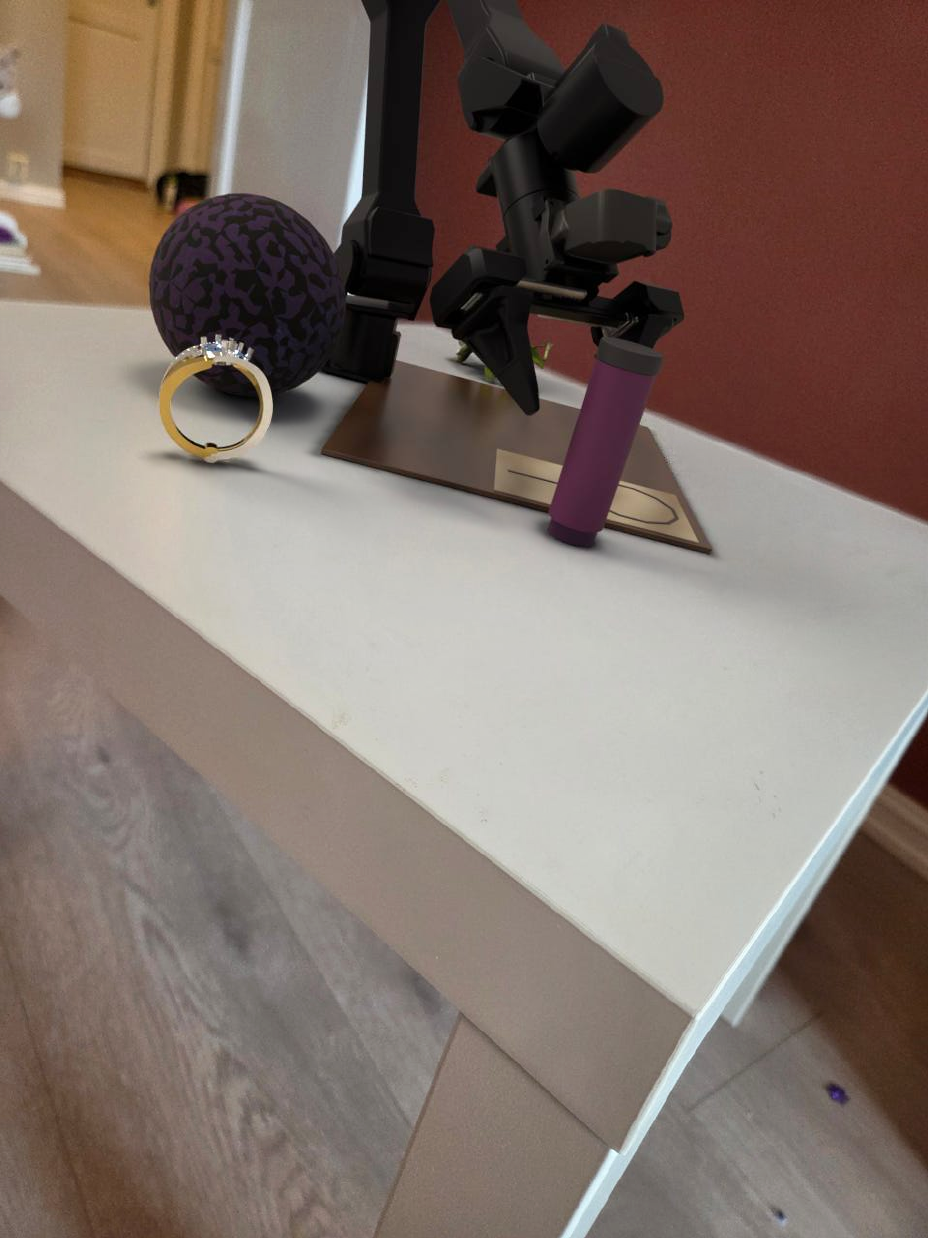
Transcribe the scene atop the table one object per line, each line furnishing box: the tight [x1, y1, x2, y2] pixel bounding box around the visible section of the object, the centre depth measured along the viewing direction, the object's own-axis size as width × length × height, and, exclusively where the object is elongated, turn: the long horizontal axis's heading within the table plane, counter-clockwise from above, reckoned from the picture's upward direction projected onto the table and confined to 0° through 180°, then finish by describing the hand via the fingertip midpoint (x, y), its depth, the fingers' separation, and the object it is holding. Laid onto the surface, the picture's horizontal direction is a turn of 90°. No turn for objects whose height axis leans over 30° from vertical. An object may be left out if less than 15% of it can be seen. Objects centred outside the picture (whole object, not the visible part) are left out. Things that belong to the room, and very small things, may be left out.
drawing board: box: [320, 359, 713, 555], centre depth 81 cm, size 30×36×1 cm
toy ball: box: [148, 192, 346, 398], centre depth 69 cm, size 15×15×15 cm
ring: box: [158, 333, 274, 464], centre depth 56 cm, size 7×3×8 cm, turn 107°
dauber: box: [547, 337, 665, 547], centre depth 59 cm, size 4×4×13 cm
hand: (586, 418), depth 60 cm, fingers open, 9 cm apart
